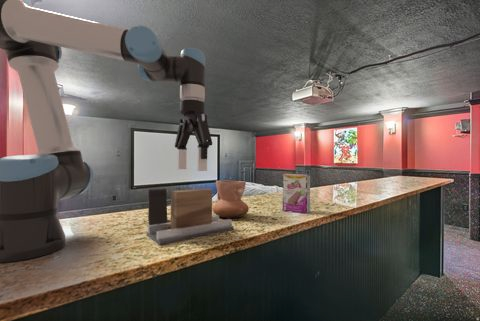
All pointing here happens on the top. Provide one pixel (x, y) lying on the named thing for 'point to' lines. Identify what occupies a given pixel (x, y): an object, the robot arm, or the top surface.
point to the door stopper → (157, 206)
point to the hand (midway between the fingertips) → (191, 170)
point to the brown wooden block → (191, 207)
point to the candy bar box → (296, 193)
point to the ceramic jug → (230, 199)
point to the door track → (187, 230)
